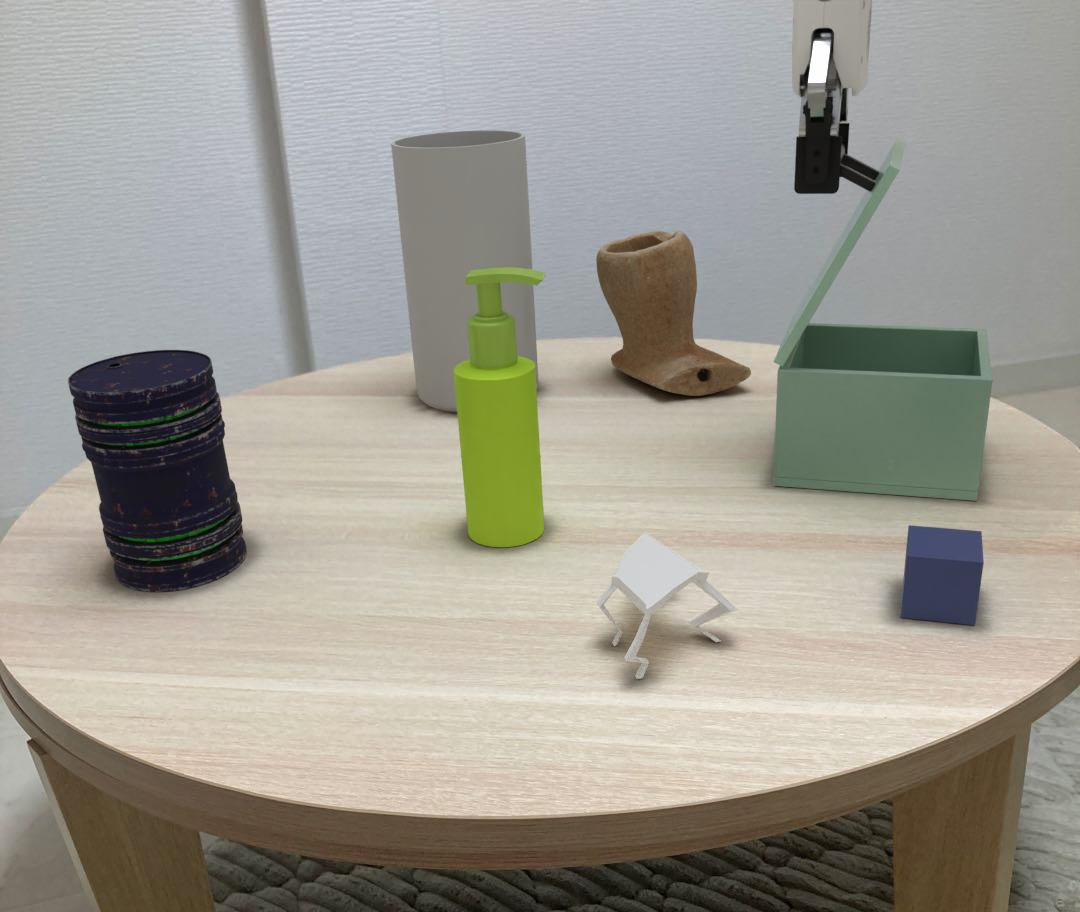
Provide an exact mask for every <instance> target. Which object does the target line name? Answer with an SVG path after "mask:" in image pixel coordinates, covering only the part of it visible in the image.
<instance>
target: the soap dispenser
mask: <svg viewBox="0 0 1080 912" xmlns="http://www.w3.org/2000/svg"><path fill="white" fill-rule="evenodd" d="M546 275H547V273H545V272H542V271H539V270H535V269H532V270H531V269H525V268H516V267H500V268H488V269H479V270H471V271H470V272H469V273H468V275H467V276H466V277H465V279H466V285H473V284H476V289H477V302H478V313H476V314H474V316H472V317H470V318H469V319H468V320H467V327H468V339H469V351H470V359H469V360H466V361H463V362H461V363H459V364H458V365H457V366H456V367H455V368H454V381H455V392H456V403H457V412H456V413H457V423H458V425H457V426H458V436H459V447H460V448H459V449H460V458H461V469H462V478H463V479H462V480H463V490H464V501H465V512H466V513H465V514H466V524H467V534H468V537H469V538H470V539H471V541H473V542H474V543H477V544H479V545H481V546H485V547H491V548H512V547H517V546H523V545H526V544H529V543H531V542H533V541H535V540H537V539H538V538H540V537H541V536H543V534H544V532H545V517H544V516H545V515H544V513H545V512H544V498H543V497H544V496H543V495H544V494H543V480H542V462H541V444H540V443H541V442H540V428H539V427H540V425H539V409H538V407H539V406H538V388H537V389H536V372H535V363H534V362H533V361H532V360H530V359H528V358H525V357H520V356H517V346H516V331H515V319H514V317H513V316H512V315H510V314H507V312H505V311H502V300H501V286H500V283H503V282H517V283H525V284H531V285H533V286H539V284H540V283H542V281H543V280H544V279H545V277H546Z"/></svg>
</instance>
